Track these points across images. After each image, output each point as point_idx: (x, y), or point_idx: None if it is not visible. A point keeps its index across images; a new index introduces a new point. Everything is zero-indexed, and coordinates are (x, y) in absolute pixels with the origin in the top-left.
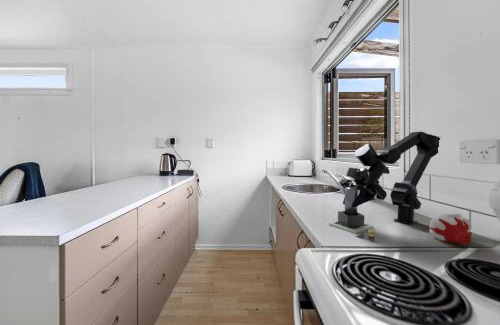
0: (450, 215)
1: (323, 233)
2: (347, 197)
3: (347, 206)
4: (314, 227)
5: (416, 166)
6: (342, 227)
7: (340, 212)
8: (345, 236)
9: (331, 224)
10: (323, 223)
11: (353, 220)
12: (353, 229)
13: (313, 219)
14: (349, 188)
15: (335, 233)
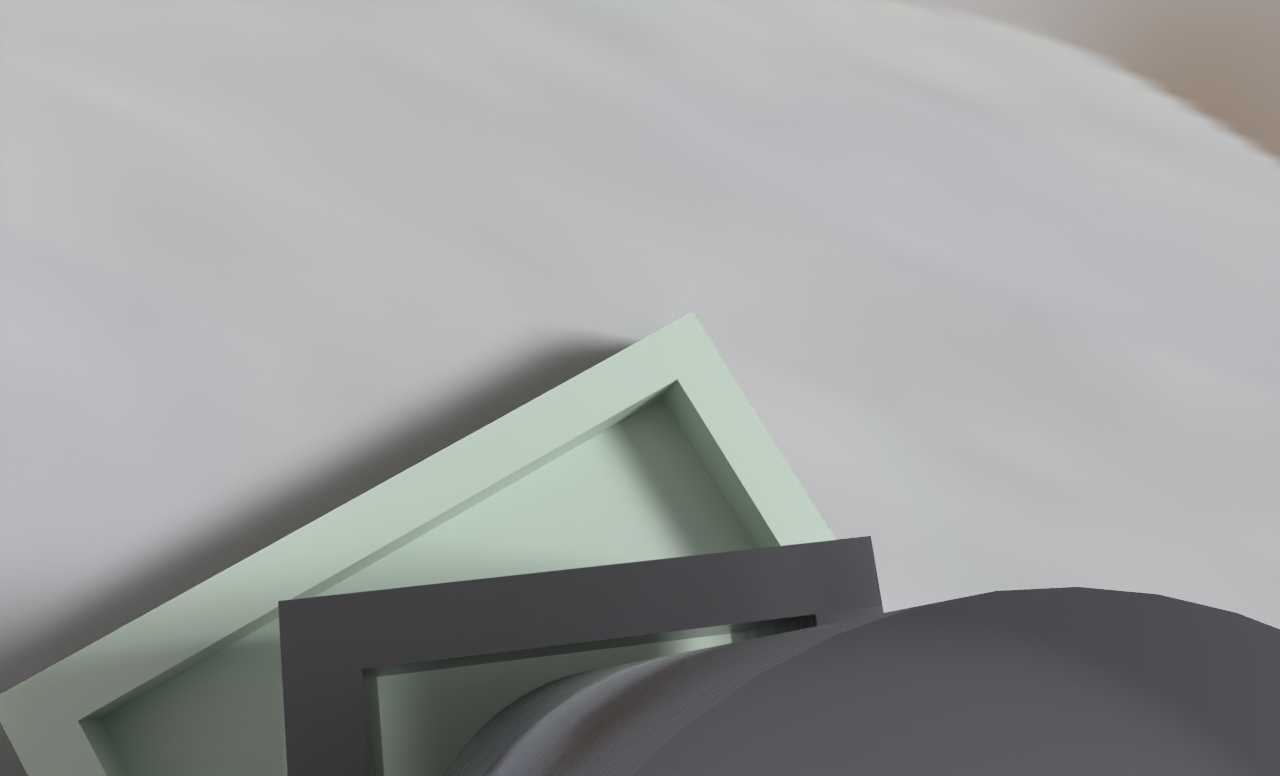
0: None
1: (284, 88)
2: (594, 689)
3: (541, 702)
4: (676, 60)
5: None
6: (342, 511)
7: (732, 557)
8: (32, 461)
9: (616, 354)
10: (951, 344)
11: None
12: (87, 699)
13: (1227, 240)
14: None
15: (257, 328)
